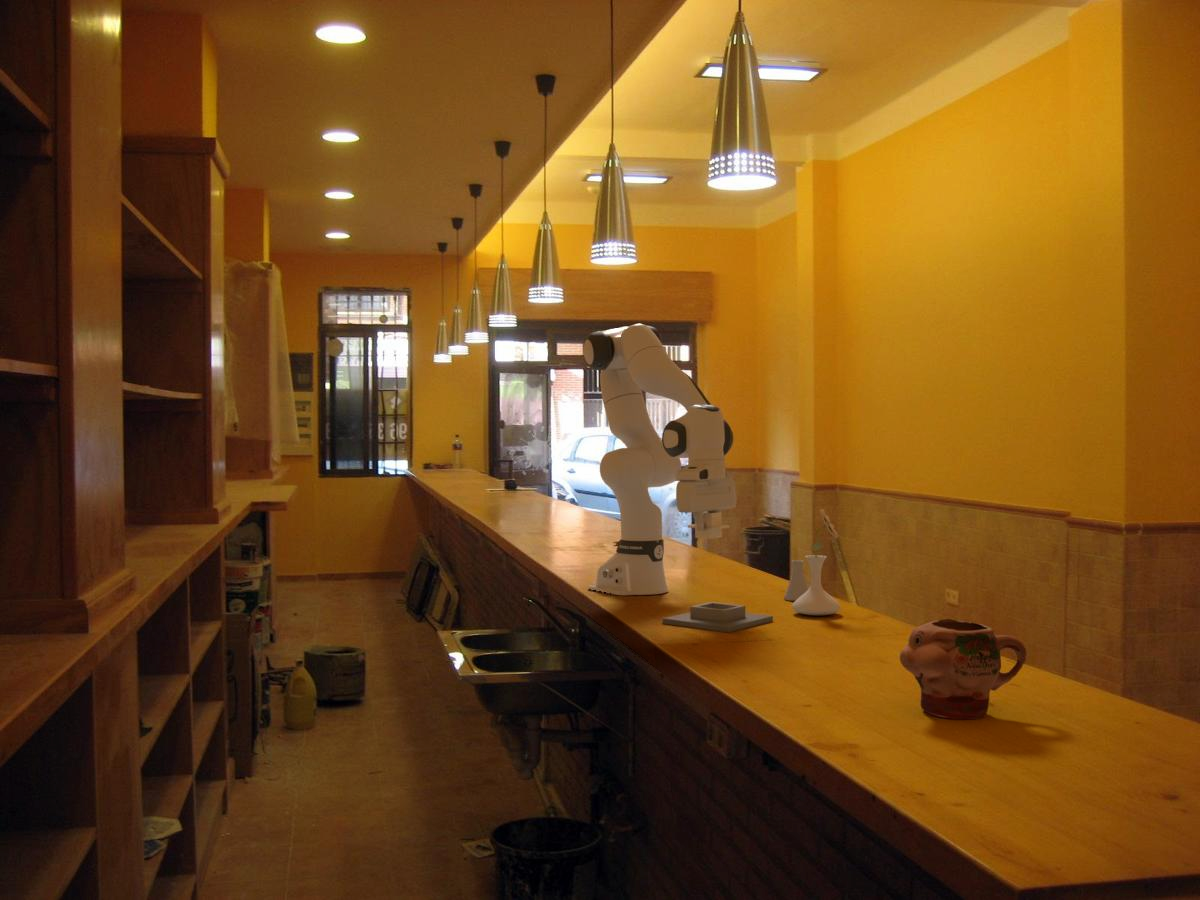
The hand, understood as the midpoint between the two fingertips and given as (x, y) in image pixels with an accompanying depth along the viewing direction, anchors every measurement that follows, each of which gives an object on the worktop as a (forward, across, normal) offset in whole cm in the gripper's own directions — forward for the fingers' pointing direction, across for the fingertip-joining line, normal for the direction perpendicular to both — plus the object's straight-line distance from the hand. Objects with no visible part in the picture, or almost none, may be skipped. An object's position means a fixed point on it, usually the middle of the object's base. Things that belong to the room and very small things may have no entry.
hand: (708, 529), depth 273 cm
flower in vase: (+21, -15, +21) cm, 33 cm away
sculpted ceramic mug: (+22, +52, +85) cm, 102 cm away
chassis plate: (+20, +9, +9) cm, 24 cm away
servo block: (+2, 0, 0) cm, 2 cm away
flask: (+20, -31, +6) cm, 37 cm away
